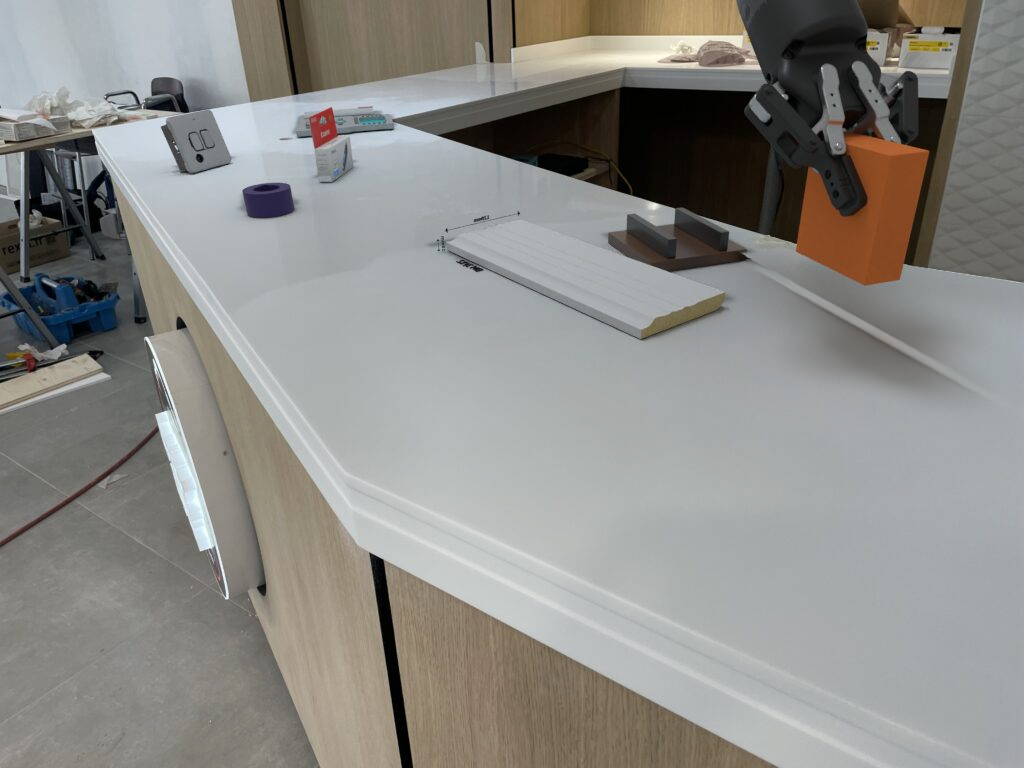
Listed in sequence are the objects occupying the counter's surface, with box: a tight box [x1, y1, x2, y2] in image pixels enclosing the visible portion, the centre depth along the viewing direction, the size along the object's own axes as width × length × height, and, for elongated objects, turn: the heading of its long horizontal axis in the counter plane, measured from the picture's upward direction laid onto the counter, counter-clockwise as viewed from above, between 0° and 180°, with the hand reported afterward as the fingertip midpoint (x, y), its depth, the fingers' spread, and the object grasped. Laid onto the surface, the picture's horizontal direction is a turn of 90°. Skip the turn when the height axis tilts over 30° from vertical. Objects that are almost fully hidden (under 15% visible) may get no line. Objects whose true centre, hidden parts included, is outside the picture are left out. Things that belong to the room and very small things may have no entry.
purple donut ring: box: [241, 182, 295, 219], centre depth 102 cm, size 12×6×3 cm, turn 26°
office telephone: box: [295, 105, 394, 138], centre depth 160 cm, size 23×3×20 cm
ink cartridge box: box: [308, 106, 354, 183], centre depth 117 cm, size 2×11×10 cm, turn 173°
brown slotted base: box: [607, 207, 748, 272], centre depth 80 cm, size 11×11×3 cm
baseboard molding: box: [436, 210, 726, 340], centre depth 74 cm, size 31×3×12 cm
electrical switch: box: [160, 109, 233, 174], centre depth 126 cm, size 9×5×9 cm, turn 153°
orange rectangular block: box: [795, 131, 930, 286], centre depth 53 cm, size 3×8×9 cm, turn 17°
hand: (877, 206), depth 51 cm, fingers closed on orange rectangular block, 3 cm apart
